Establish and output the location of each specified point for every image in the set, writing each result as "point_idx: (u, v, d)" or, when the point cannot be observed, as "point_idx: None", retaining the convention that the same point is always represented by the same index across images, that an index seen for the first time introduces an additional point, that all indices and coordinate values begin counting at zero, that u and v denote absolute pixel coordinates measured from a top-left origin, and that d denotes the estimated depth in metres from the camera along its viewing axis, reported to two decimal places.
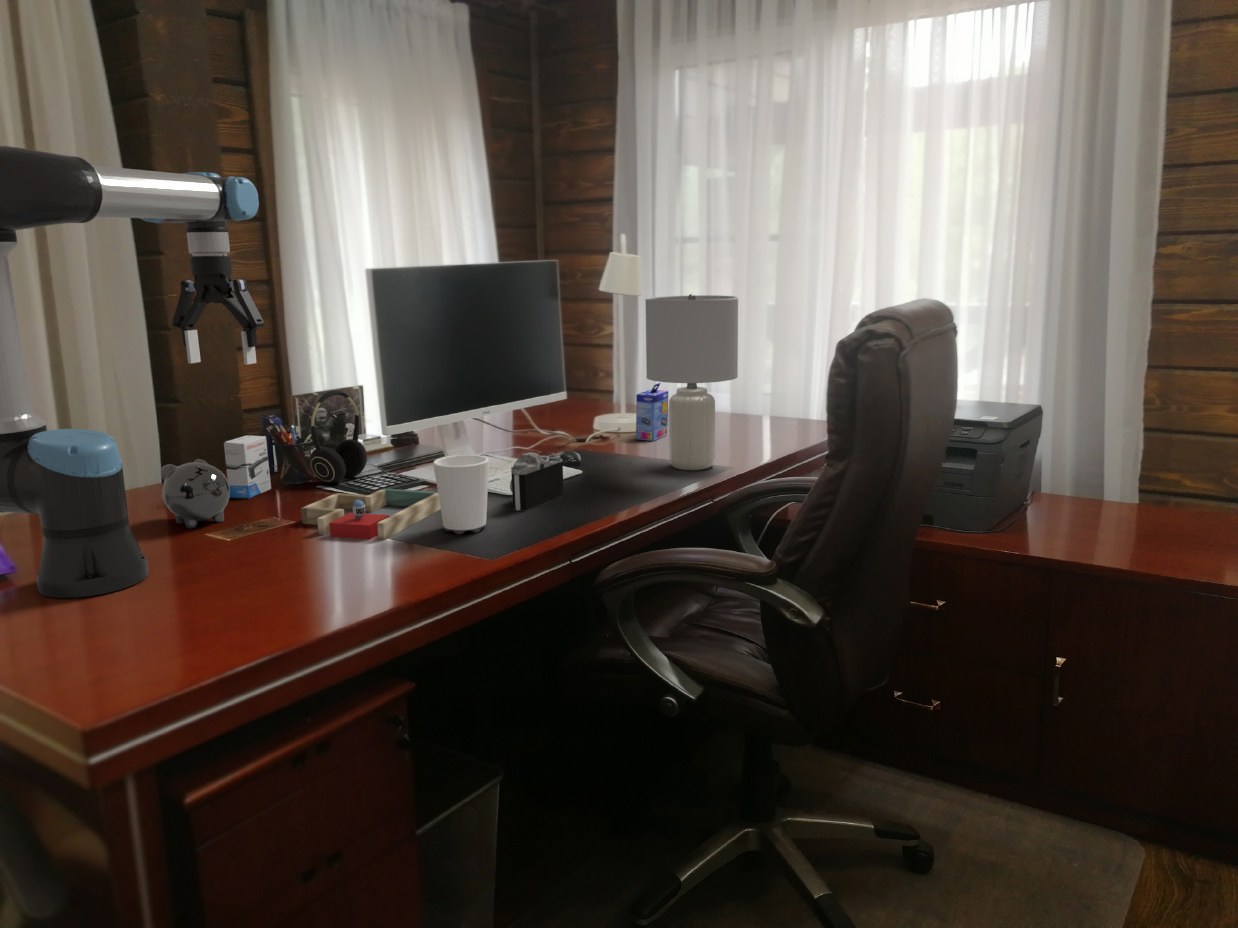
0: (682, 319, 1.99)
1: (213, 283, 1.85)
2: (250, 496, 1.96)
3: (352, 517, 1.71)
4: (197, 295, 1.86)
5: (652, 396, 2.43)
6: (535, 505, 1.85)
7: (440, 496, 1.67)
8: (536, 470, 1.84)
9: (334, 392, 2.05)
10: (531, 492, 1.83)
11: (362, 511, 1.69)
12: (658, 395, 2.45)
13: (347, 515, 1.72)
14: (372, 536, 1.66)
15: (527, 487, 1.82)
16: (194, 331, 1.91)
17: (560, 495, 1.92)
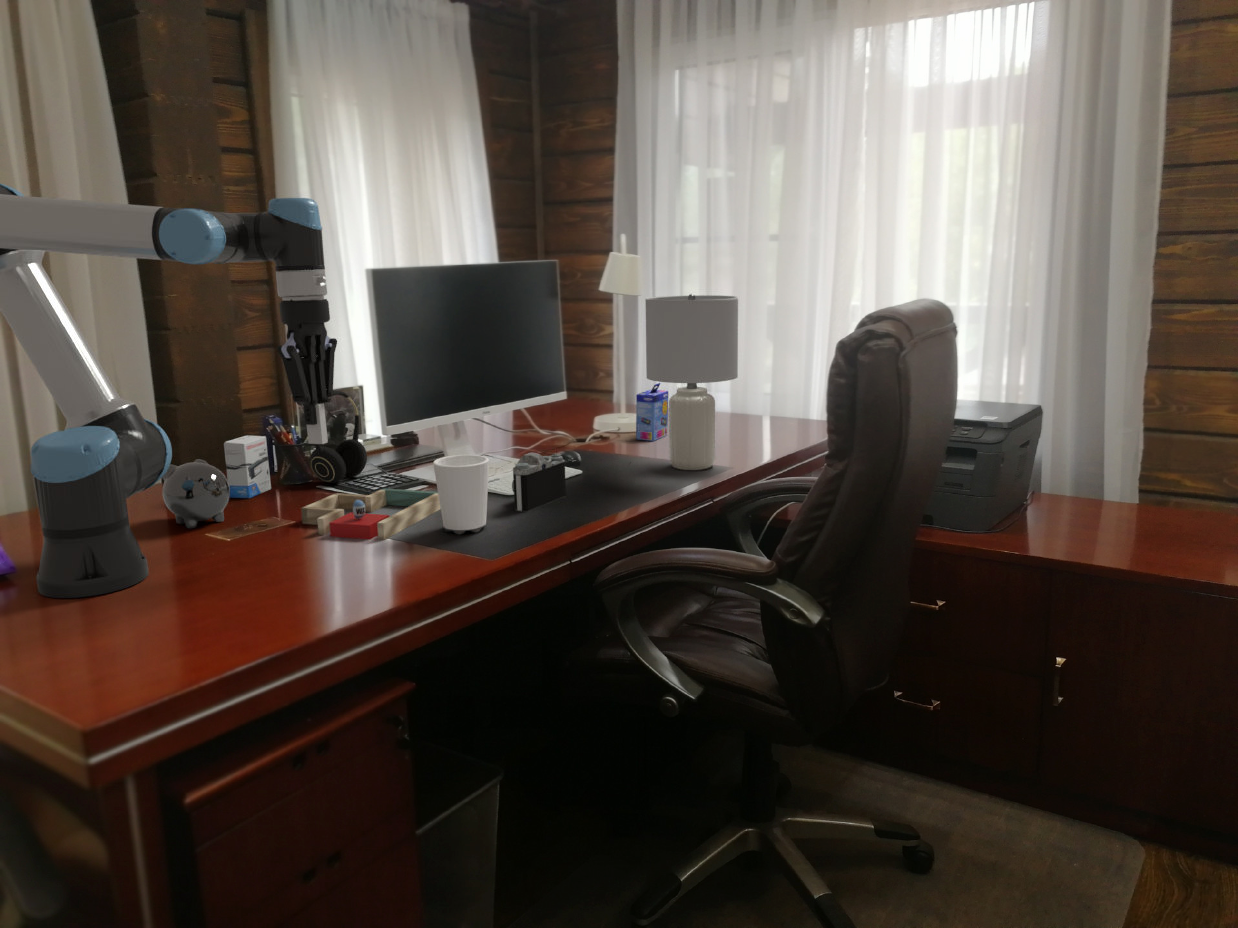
0: (682, 319, 1.99)
1: None
2: (250, 496, 1.96)
3: (352, 517, 1.71)
4: None
5: (652, 396, 2.43)
6: (537, 505, 1.84)
7: (440, 496, 1.67)
8: (538, 470, 1.83)
9: (334, 392, 2.05)
10: (533, 492, 1.83)
11: (362, 511, 1.69)
12: (658, 395, 2.45)
13: (347, 515, 1.72)
14: (372, 536, 1.66)
15: (529, 487, 1.81)
16: None
17: (562, 495, 1.91)
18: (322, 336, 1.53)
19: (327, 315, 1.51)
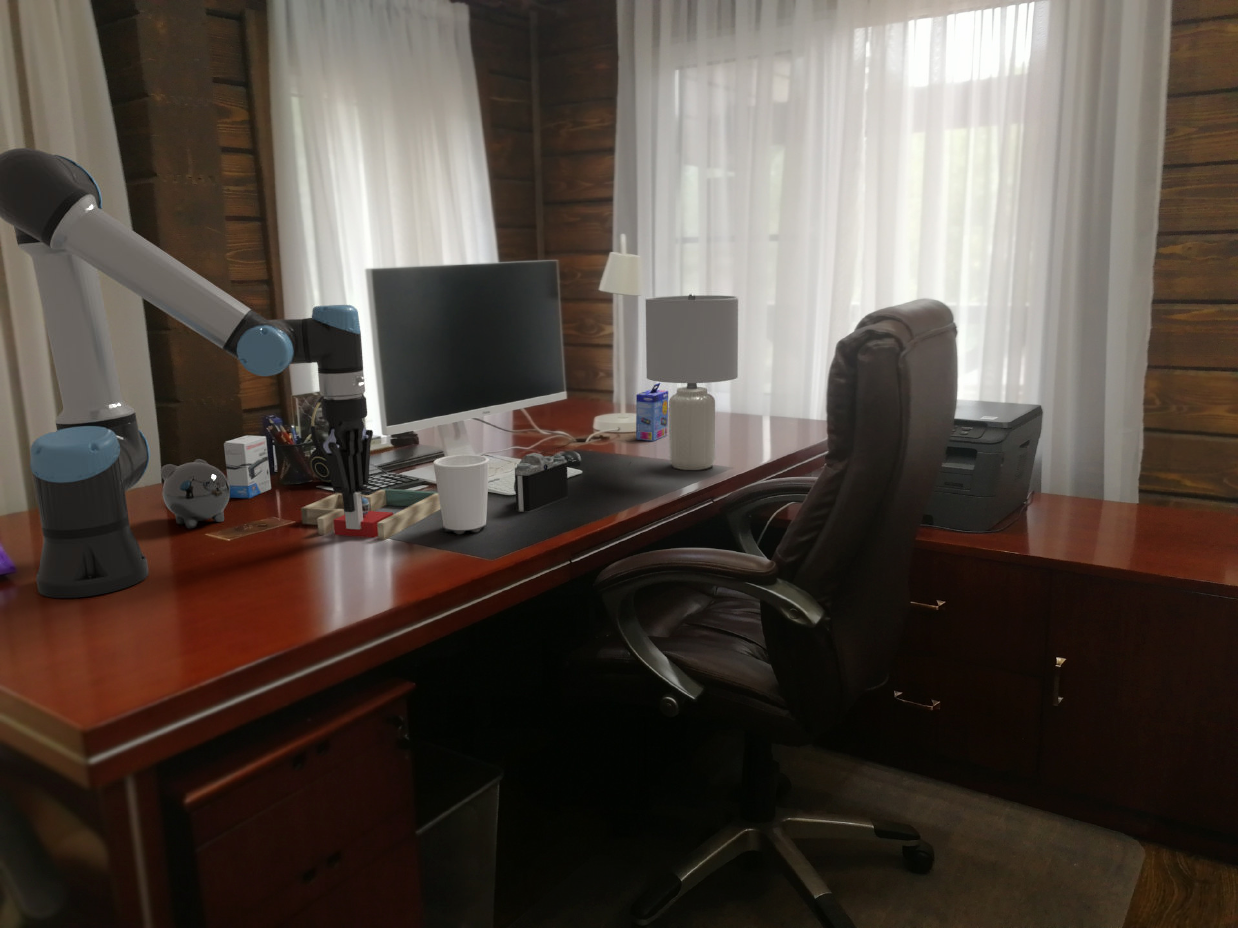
0: (682, 319, 1.99)
1: None
2: (250, 496, 1.96)
3: None
4: None
5: (652, 396, 2.43)
6: (538, 506, 1.84)
7: (440, 496, 1.67)
8: (540, 471, 1.83)
9: None
10: (534, 493, 1.82)
11: (366, 508, 1.69)
12: (658, 395, 2.45)
13: None
14: (375, 533, 1.67)
15: (530, 488, 1.81)
16: None
17: (564, 496, 1.91)
18: (360, 430, 1.65)
19: (365, 412, 1.63)
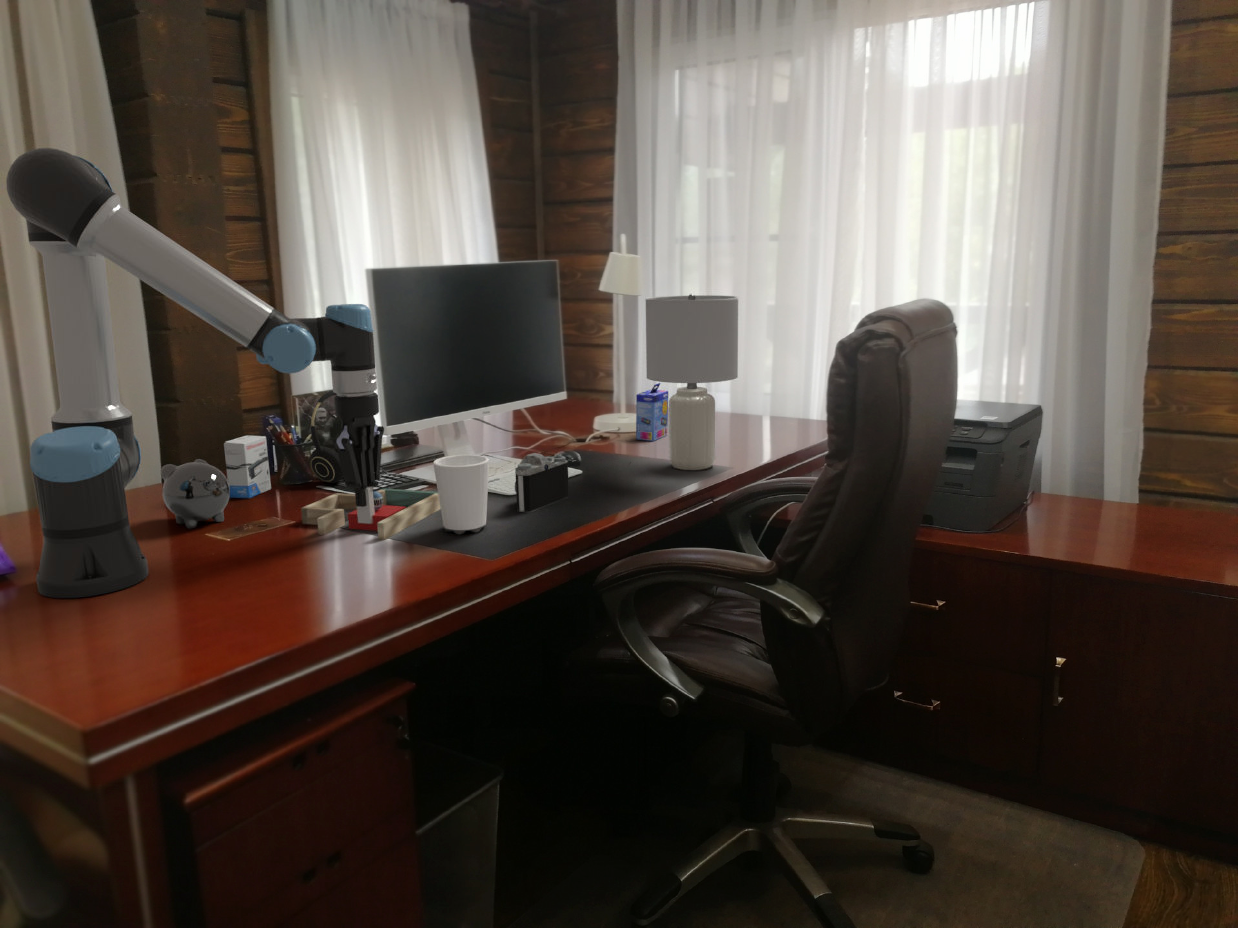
0: (682, 319, 1.99)
1: None
2: (250, 496, 1.96)
3: None
4: None
5: (652, 396, 2.43)
6: (539, 506, 1.84)
7: (440, 496, 1.67)
8: (540, 471, 1.83)
9: (334, 392, 2.05)
10: (535, 493, 1.82)
11: (379, 502, 1.73)
12: (658, 395, 2.45)
13: None
14: None
15: (531, 488, 1.81)
16: None
17: (565, 496, 1.91)
18: (372, 426, 1.68)
19: (377, 408, 1.66)
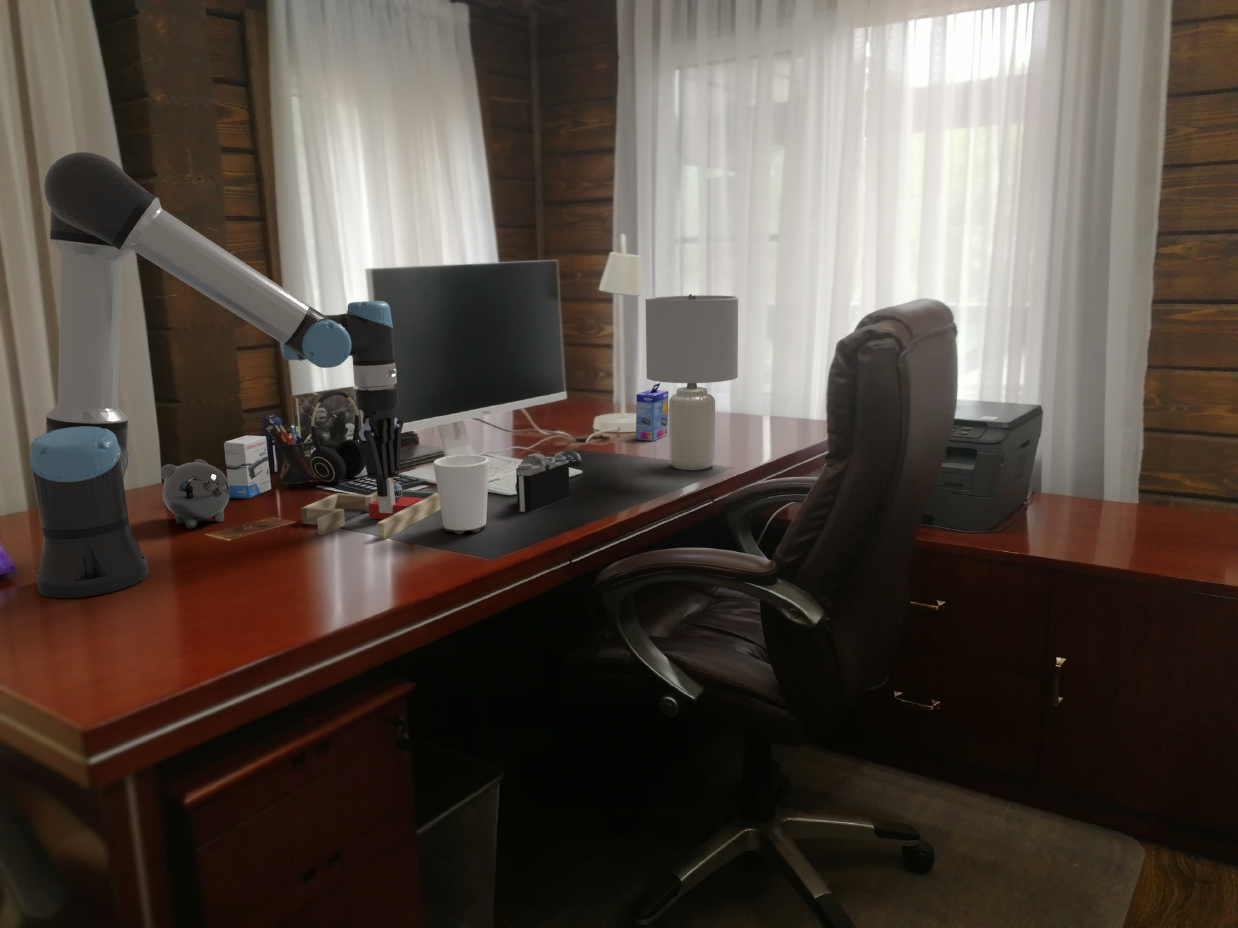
0: (682, 319, 1.99)
1: None
2: (250, 496, 1.96)
3: None
4: None
5: (652, 396, 2.43)
6: (540, 506, 1.83)
7: (440, 496, 1.67)
8: (541, 471, 1.83)
9: (334, 392, 2.05)
10: (536, 493, 1.82)
11: (399, 493, 1.79)
12: (658, 395, 2.45)
13: None
14: None
15: (532, 488, 1.81)
16: None
17: (566, 496, 1.91)
18: (392, 419, 1.74)
19: (397, 402, 1.72)
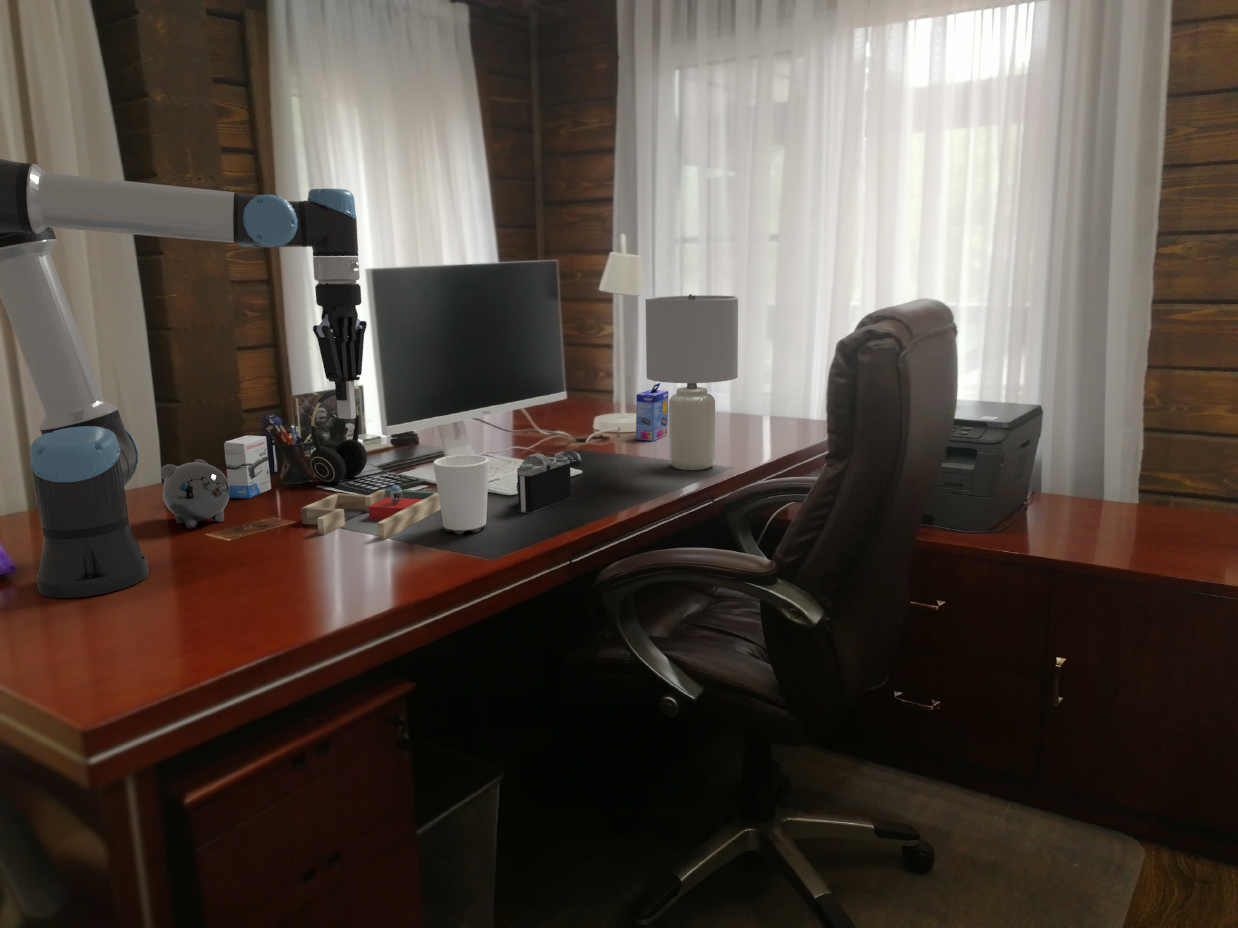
0: (682, 319, 1.99)
1: None
2: (250, 496, 1.96)
3: (389, 501, 1.81)
4: None
5: (652, 396, 2.43)
6: (541, 507, 1.83)
7: (440, 496, 1.67)
8: (542, 471, 1.82)
9: (334, 392, 2.05)
10: (537, 494, 1.82)
11: (399, 495, 1.79)
12: (658, 395, 2.45)
13: (384, 499, 1.83)
14: None
15: (533, 489, 1.81)
16: None
17: (567, 497, 1.90)
18: (354, 318, 1.64)
19: (359, 299, 1.63)
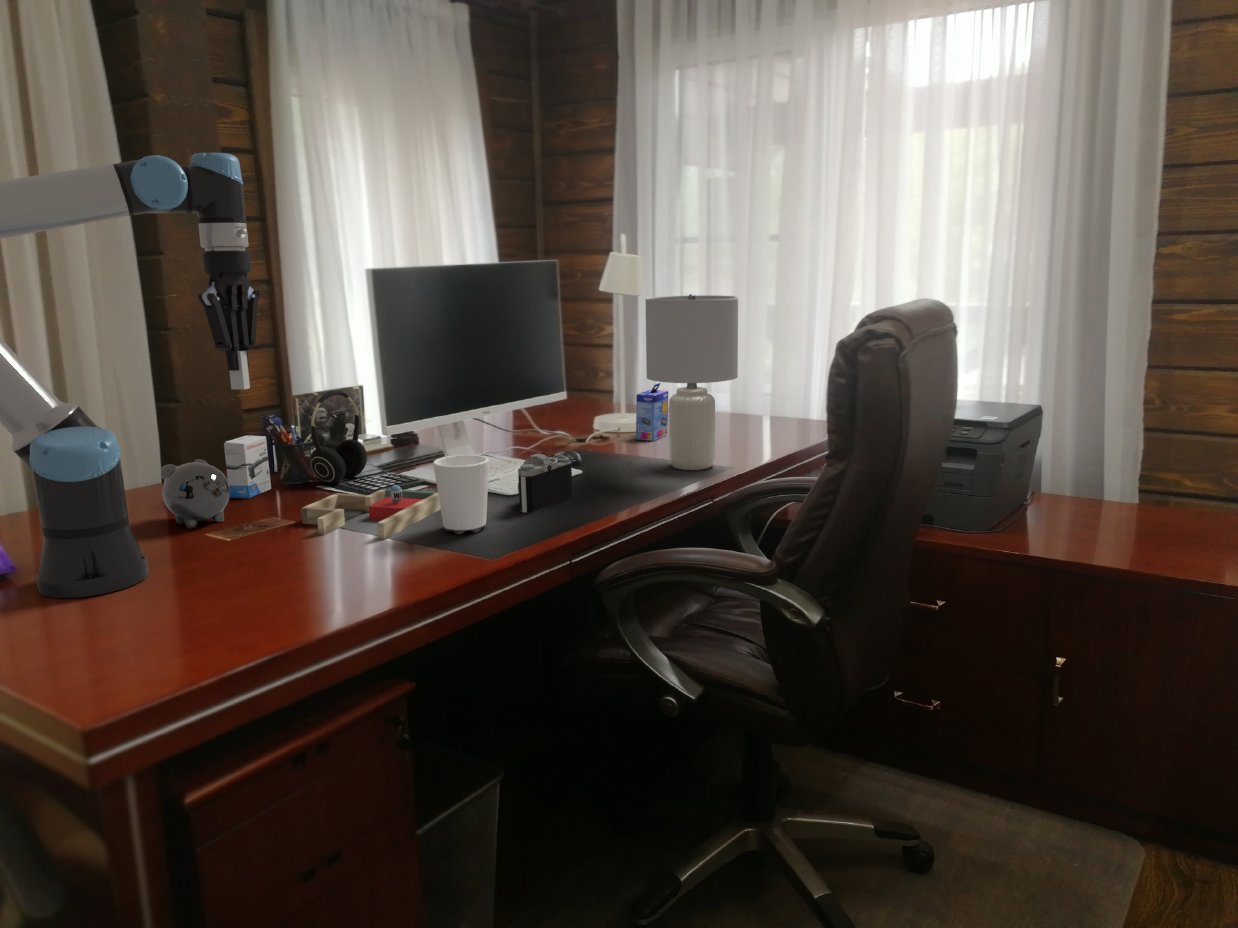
0: (682, 319, 1.99)
1: None
2: (250, 496, 1.96)
3: (389, 501, 1.81)
4: None
5: (652, 396, 2.43)
6: (542, 507, 1.83)
7: (440, 496, 1.67)
8: (543, 472, 1.82)
9: (334, 392, 2.05)
10: (538, 494, 1.82)
11: (399, 495, 1.79)
12: (658, 395, 2.45)
13: (384, 499, 1.83)
14: None
15: (534, 489, 1.80)
16: None
17: (568, 497, 1.90)
18: (244, 286, 1.61)
19: (248, 266, 1.60)
